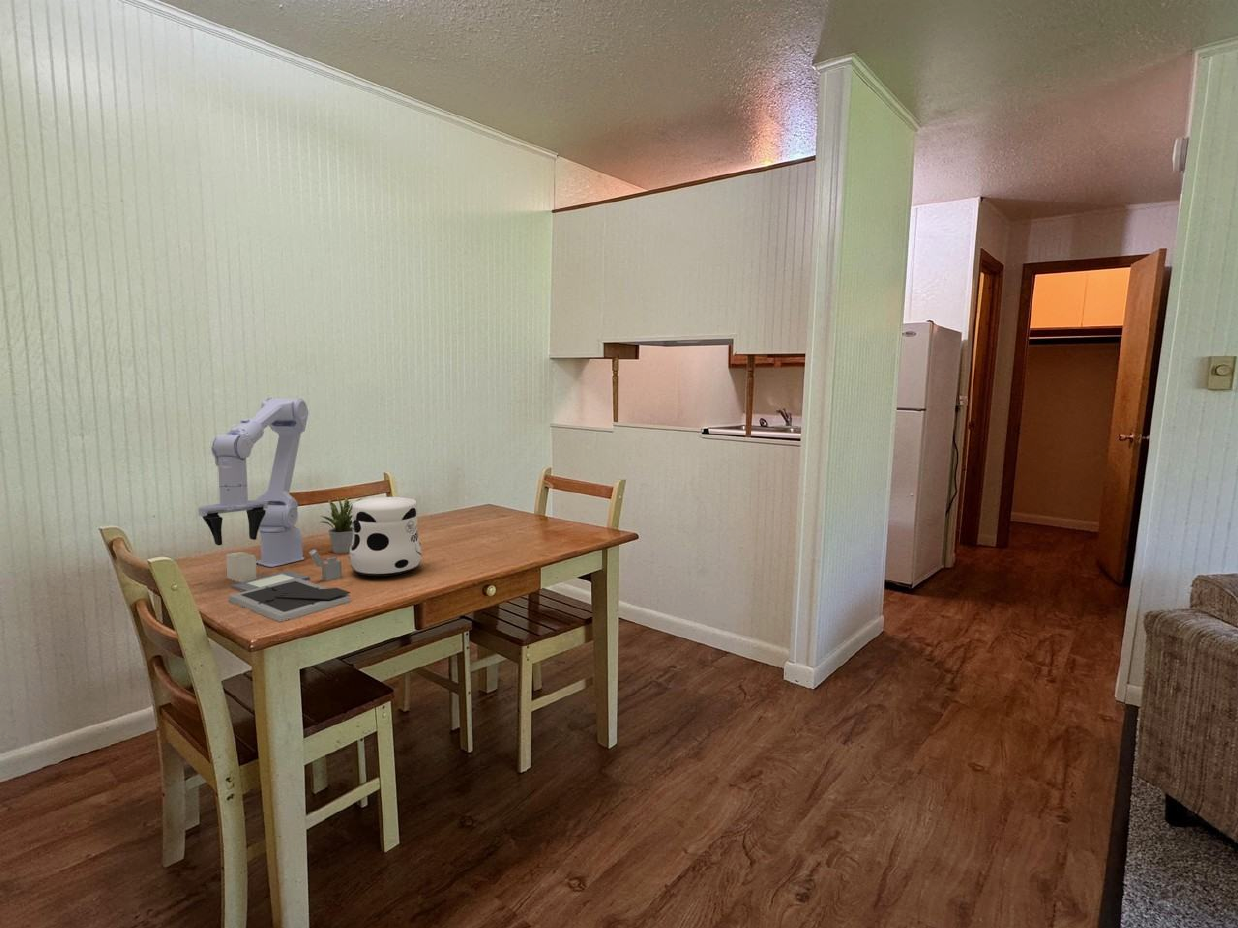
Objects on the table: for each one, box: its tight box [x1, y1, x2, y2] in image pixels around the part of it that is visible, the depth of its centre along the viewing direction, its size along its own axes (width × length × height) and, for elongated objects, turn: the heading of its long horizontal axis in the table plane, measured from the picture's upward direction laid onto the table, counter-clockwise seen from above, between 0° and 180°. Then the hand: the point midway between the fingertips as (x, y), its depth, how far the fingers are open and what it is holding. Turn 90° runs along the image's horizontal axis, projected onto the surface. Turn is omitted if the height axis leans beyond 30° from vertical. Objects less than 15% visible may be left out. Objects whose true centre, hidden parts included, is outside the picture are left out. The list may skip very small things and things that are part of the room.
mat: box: [230, 570, 311, 592], centre depth 156 cm, size 14×9×1 cm, turn 148°
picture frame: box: [228, 578, 351, 623], centre depth 144 cm, size 16×3×21 cm
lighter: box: [308, 548, 343, 582], centre depth 159 cm, size 7×2×8 cm, turn 138°
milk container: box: [348, 496, 422, 578], centre depth 166 cm, size 17×17×18 cm
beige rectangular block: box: [225, 551, 258, 583], centre depth 159 cm, size 4×6×6 cm, turn 58°
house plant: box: [317, 495, 367, 554], centre depth 185 cm, size 14×14×16 cm
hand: (236, 541), depth 156 cm, fingers open, 7 cm apart
